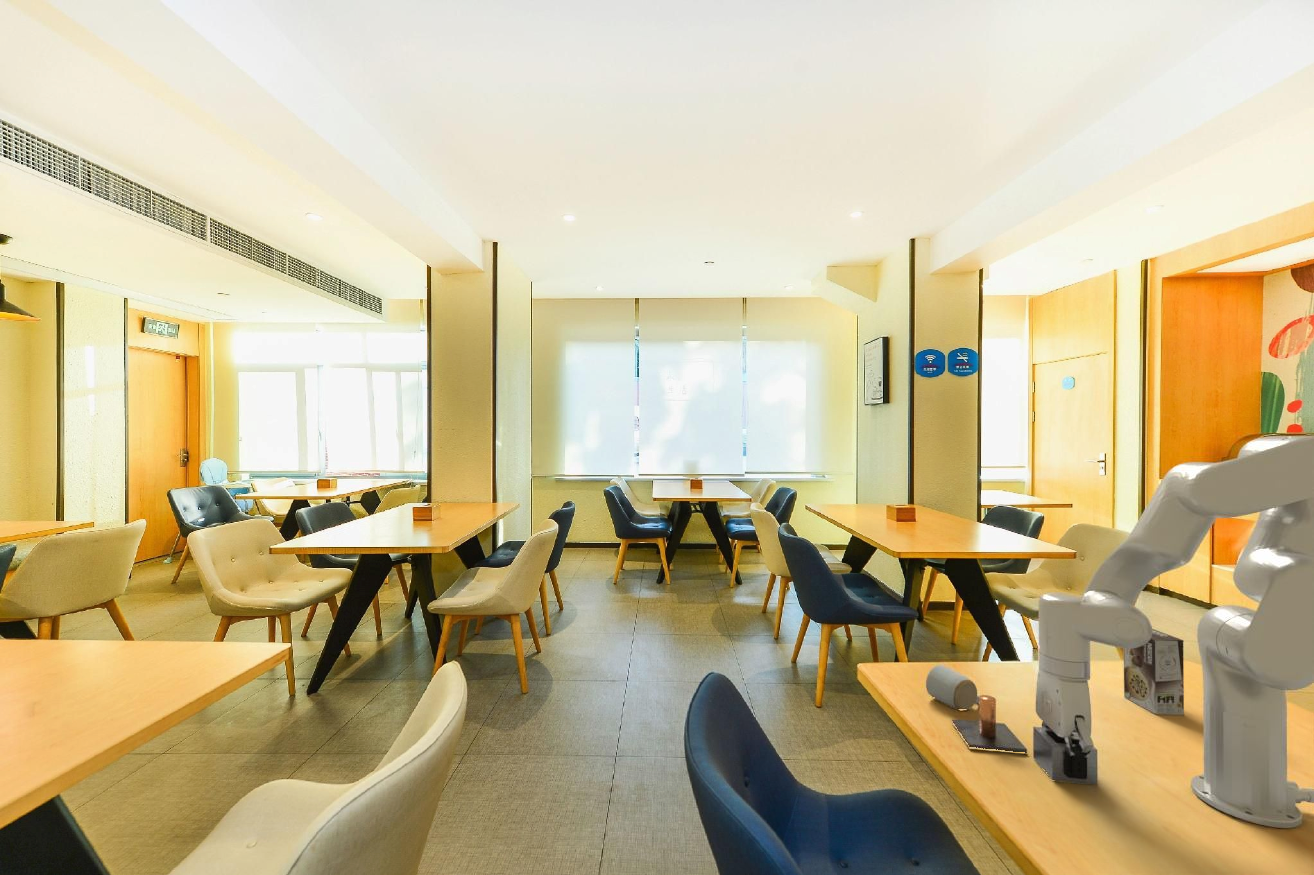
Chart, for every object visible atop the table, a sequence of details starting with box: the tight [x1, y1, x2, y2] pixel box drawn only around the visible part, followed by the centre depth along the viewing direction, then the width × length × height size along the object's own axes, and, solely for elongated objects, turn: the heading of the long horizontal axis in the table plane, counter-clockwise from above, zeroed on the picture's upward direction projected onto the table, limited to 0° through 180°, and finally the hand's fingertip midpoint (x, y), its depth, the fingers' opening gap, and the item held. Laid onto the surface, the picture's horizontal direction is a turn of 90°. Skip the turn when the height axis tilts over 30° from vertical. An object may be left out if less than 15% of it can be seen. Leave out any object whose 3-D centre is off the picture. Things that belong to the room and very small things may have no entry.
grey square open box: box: [1032, 726, 1098, 786], centre depth 103 cm, size 7×7×6 cm
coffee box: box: [1122, 628, 1185, 716], centre depth 129 cm, size 9×6×16 cm
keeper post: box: [951, 694, 1028, 754], centre depth 114 cm, size 10×10×8 cm
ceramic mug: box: [925, 664, 980, 710], centre depth 130 cm, size 11×8×8 cm
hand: (1064, 764), depth 103 cm, fingers closed on grey square open box, 7 cm apart
